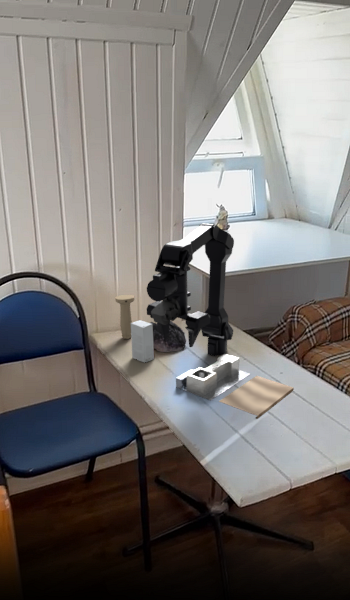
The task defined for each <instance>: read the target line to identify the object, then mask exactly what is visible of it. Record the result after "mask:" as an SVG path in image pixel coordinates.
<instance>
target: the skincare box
mask: <svg viewBox="0 0 350 600" xmlns="http://www.w3.org/2000/svg"><path fill="white" fill-rule="evenodd" d="M130 340H131V356H132V359H134V360H136V359H137V361H139V362H142V363H145V362H146V363H147V362H151V361H152V360H154V359H155V356H154V354H155V353H154V352H155V351H154V348H153V324H151V323H150V322H148V321H144V320H141V319H139V320H136V321H132V323H131V338H130Z"/></svg>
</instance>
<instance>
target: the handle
mask: <svg viewBox="0 0 350 600" xmlns="http://www.w3.org/2000/svg"><path fill="white" fill-rule="evenodd" d="M114 299H115V300H114V301H115V302H116V303H117V304H119V305H120V306H119V309H120V310H119V311H120V314H119V315H120V319H119V320H120V322H119V323H120V331H121V337H122V339H123V340H129V339H131V323H133V320H132V311H131V310H132V309H131V303H133V302H134V301H135V295H134V294H121V295H120V294H119V295H116V296H115V297H114Z"/></svg>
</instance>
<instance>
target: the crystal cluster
mask: <svg viewBox="0 0 350 600" xmlns="http://www.w3.org/2000/svg"><path fill="white" fill-rule="evenodd" d="M149 323H151V324H153V348H154V349H155V350H156V351H158V352H162V353H167V352H179V351H182V350H183V349H184V347H185V346H186V344H187V339H186V336H185V331H183V329H182V328H181V327H180V326H178V325H177V324H176V323H175V322H174V321H170V326H169V335H168V338H167V339H164V336H163V334H162V332H161V329H160V327H159V325H158V323H157V322H154V321H150V322H149Z"/></svg>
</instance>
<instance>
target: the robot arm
mask: <svg viewBox="0 0 350 600" xmlns="http://www.w3.org/2000/svg"><path fill="white" fill-rule="evenodd" d="M234 245H235V238H233V236H232V235H231V234H230V233H229V232H228V231H226V230H223V229H221V228H220V227H219V226H218V225H217V224H215V223H207V222H203V223H200V224H199V225H198V227H197V228H195V229H194V230H193V231H191V232H190V233H189V234H187V235H186V236H185V237H183V238H182V239H180V240H173V241H170V242H168V243H167V242H166V243H165V244H164V245H163V246H162V248H161V250H160V252H159V255H158V260H157V262H156V264H155V269H154V272H155V273H156V272H157V273H156V274H153V275H152V279H151V280H150V281H149V282H148V284H147V286H146V292H147V295H148V297H149V298H150V299H151V301H152V300H153V301H154V302H152V303H149V304H148V305H147V307H146V315H147V316H150V318H151V319H152V320H153V323H156V324H157V323H158V325H159V327H160V329H161V332H162V334H163V336H164V339H167V338H168V335H169V326H170V321H172V322H174V321H175V320H176V319H177V318H178V319H181V320H185V324H186V326H185V329H186V330H187V332H188V333H187V334H188V335H187V336H188V346H189V348H193V347H194V344H195V342H196V340H197V339H198V336H199V334H200V333H201V334H202V337H206V338H207V355H208V356H211V357H217V356H222V355H224V354H227V351H228V341H231V340H233V337H234V336H233V335H234V329H233V327H232V326H231V324H229V323H230V322H229V315H228V313H227V311H226V310H225V309H226V308H225V307H224V306H225V288H226V271H227V270H226V267H227V261H228V260H229V258H230V257H231V255H232V254H233V248H234ZM202 247H204V251H205V252H204V253H205V255H206V257H207V258H208V260H209V275H208V277H209V279H208V296H207V298H208V300H207V308H206V309H205V311H204V312H203V311H199V310H198V311H195V312H193V313H189V312H190V311H192V307H191V305H188V304H189V302H188V301H189V300H188V298H189V297H190V296H191V295H192V294H191V292H190V291H188V272H189V271H190V270H191V267H190V266H189V264H190V263H191V262H192V260H194V259H193V258H194V253H195V252H197V251H199V249H201V248H202Z"/></svg>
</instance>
